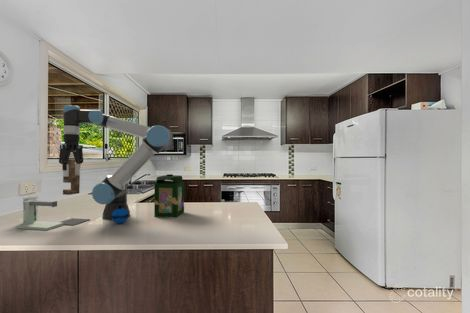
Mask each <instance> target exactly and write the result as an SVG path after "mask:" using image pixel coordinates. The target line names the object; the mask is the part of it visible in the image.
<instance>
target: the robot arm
mask: <svg viewBox="0 0 470 313" xmlns="http://www.w3.org/2000/svg"><path fill="white" fill-rule="evenodd" d="M63 106H64V107H63V112H62V113H63V114H62V115H63V141H64V143H63V144H61V143H60V144H59V146H58V147H59V155H58V156H59V157H58V163H59V164H61V165H62V173H63V174H62V177H63V176H64V177H68V176H69V164H67V163H68V160H69V159H70V156H71V153H72V156H73V159H75V175H80V176H81V171H80V170H81V164H83V163H84V154H83V152H84V151H83V147H84V146H83V145H81V144H79V142H80V140H81V139H80V138H81V137H80V131H81V130H80V129H81V128H80V124H89V125H94V126H98V127H101V128H104V129H105V128H106V129H110V130H113V131H116V132H120V133H124V134H128V135H131V136H133V137H138V138H140V139H141V144H140V145H139V146H138V147H137V148H136V150H135V151H134V152H132V154H131V155H130V156H128V158H127V159H126V160H124V162H123V163H122V164H121V165H120V166H119V168H117V170H116V171H114V173H113V174H110V175H109V174H108V175H107V176H106V177H105V178H104V179H103V180H101V182H99V183H97V184H96V185H95V186H94V187H93V188H92V190H91V196H92V198H93V201H95V202H96V203H97V204H99V205H105V206H104V208H103V212H102V219H105V220H112V218H111V215H112V213H113V211H114V210H115V209H117V208H119V205H121V206H122V207H121V208H124V209H126V210H127V212H128V213H129V216H128V217H130V216H131V211H130V209H129V204H128V182H130V180H131V179H132V178H133V177H134V176H135V175H136V174H137V172H139V171H140V170H141V168H143V166H144V165H146V163H147V162H148V161H149V160H150V159H151V158H152V157H153V156H154V155H157V154H159V153H160V152H161V151H162V150H163V149H164V148H166V147H169V146H170V145H171V144H172V143H173V141H174V135H173V133H172V131H171V130H170V129H169V128H167V127H166V126H164V125H159V124H157V125H153V126H149V125H148V126H147V125H145V124H140V123H137V122H133V121H130V120H126V119H122V118H119V117H115V116H111V115H109V114H104V113H103V112H102V110H100V109H80V106H78V105H72V104H67V105H66V104H65V105H63Z"/></svg>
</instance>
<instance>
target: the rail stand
mask: <svg viewBox="0 0 470 313" xmlns="http://www.w3.org/2000/svg"><path fill="white" fill-rule="evenodd" d="M34 206H38V207H39V206H40V207H51V208H55V207H58V201H57V200H54V201H47V200H44V201H42V200H38V201H31V200H30V201H25V224H23V223H22V224H19V225H16V229H22V230H35V231H37V230H38V231H49V230H52V229H56V228H58V227H62V226H65V225H64V223H60V222H61V221H59V222H58V221H57V222H56V221H40V220H38V221H34Z"/></svg>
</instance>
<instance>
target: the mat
mask: <svg viewBox="0 0 470 313" xmlns="http://www.w3.org/2000/svg"><path fill="white" fill-rule="evenodd" d="M90 220H91V219H89V218H88V219H87V218H73V217H71V218H68V219H65V220H62V221H59V222H60V223H64V225H63V226H72V227H73V226H77V225H80V224H83V223H86V222H88V221H89V222H90Z"/></svg>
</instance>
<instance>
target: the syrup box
mask: <svg viewBox="0 0 470 313" xmlns="http://www.w3.org/2000/svg"><path fill="white" fill-rule="evenodd" d="M30 200H31V201H39V195H37V194H36V195H25V196H24V197H22V208H23V209H22V213H23V215H22V216H23V217H22V218H23V219H22V221H23V222H22V224H25V201H30ZM34 221H39V206H34Z"/></svg>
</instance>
